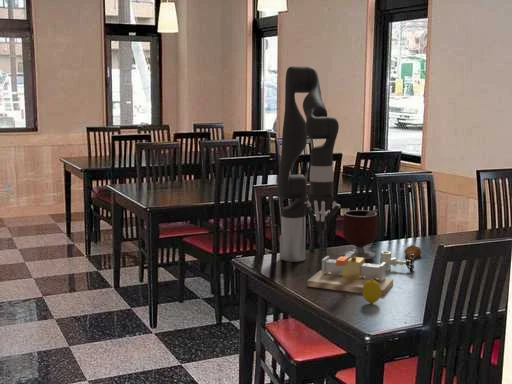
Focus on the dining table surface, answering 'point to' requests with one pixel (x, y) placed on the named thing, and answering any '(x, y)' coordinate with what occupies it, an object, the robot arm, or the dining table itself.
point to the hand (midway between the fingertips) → (321, 232)
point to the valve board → (345, 283)
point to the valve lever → (346, 257)
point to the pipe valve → (354, 269)
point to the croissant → (412, 251)
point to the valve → (395, 261)
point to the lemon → (371, 291)
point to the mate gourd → (360, 230)
